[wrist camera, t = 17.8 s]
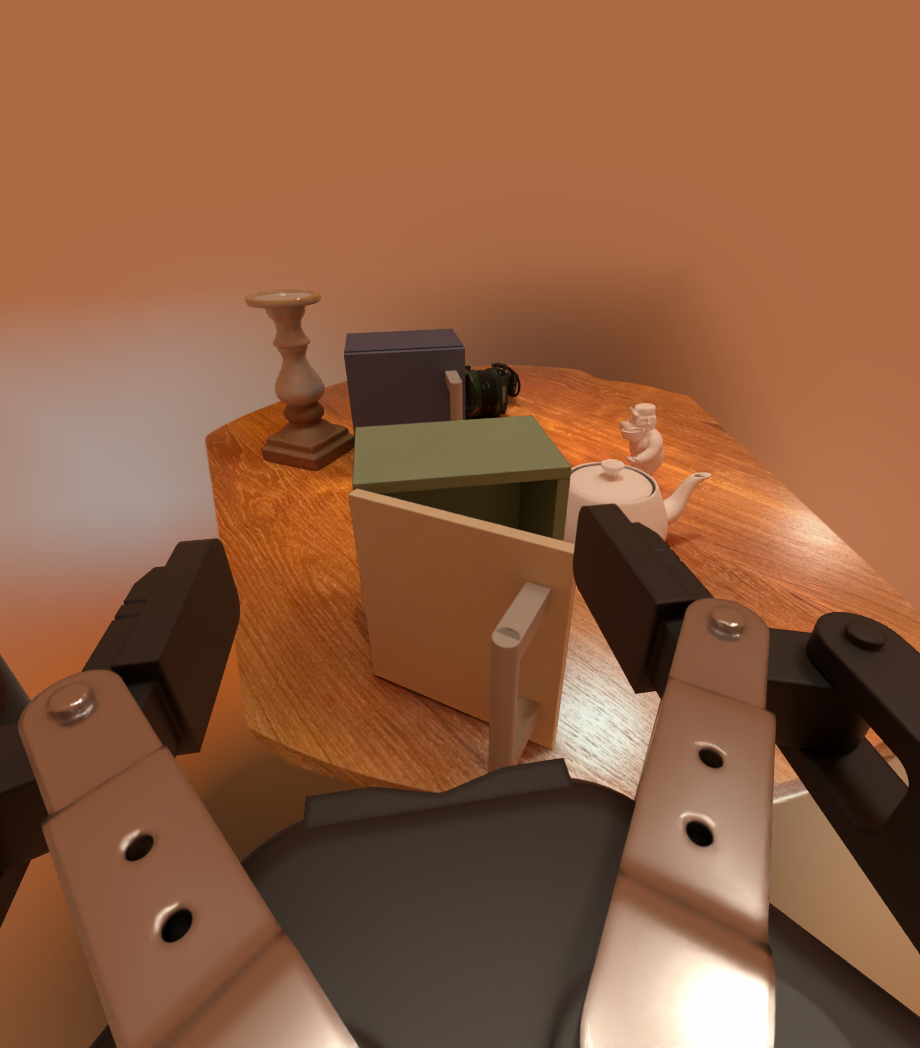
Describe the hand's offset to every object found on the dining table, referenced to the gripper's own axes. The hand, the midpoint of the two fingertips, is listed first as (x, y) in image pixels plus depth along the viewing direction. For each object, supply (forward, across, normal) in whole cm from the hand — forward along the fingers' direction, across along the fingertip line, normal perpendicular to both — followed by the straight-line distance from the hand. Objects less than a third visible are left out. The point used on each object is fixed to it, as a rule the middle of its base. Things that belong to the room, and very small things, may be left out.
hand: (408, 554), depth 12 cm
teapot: (+38, -24, +28) cm, 53 cm away
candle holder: (+72, +13, +28) cm, 78 cm away
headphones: (+88, -18, +28) cm, 94 cm away
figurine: (+51, -33, +28) cm, 67 cm away
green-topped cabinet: (+29, -5, +28) cm, 41 cm away
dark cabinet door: (+59, -3, +28) cm, 65 cm away
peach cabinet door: (+16, -2, +28) cm, 32 cm away
